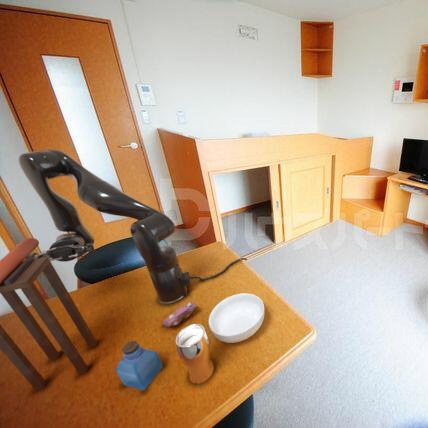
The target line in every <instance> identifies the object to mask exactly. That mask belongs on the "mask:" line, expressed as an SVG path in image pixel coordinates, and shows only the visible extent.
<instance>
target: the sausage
mask: <svg viewBox="0 0 428 428" xmlns="http://www.w3.org/2000/svg"><path fill="white" fill-rule="evenodd" d="M38 246H40V241H39V239H37V238H34V237H27V238H24V239H22V240H21V241H20V242H19V243H18V244H17V245H16V246H14V248H13V249H11V250H10V251H9V252H8V253H7V254H6V255H4V256H3V257H2V258H1V259H0V284H1V283H2V282H3V281H4V280H5V279H6V278H7V277H8V276H9V275H10V274H11V273H12V272H13V271H14V270H15V269H16V268H17V267H18V266H19V265H20V264H21V263H22V262H23V261H25V260H26V258H27V257H28V256H29V255H30V254H32V253H33V251H35V250H36V248H38Z"/></svg>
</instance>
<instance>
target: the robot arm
mask: <svg viewBox="0 0 428 428" xmlns="http://www.w3.org/2000/svg"><path fill="white" fill-rule="evenodd" d="M18 164H19V166H20V169H21V170H22V172H23V174H24V176H25V177H26V179H27V180H28V182H29V183H30V185H31V186H32V188H33V190H34V191H35V192H36V194H37V195H38V197H39V198H40V199H41V201H42V202H43V204H44V205H45V207H46V209H47V210H48V212H49V215H50V217H51V220H52V223H54V224H53V225H54V226H55V228H56V230H58V231H59V232H63V234H60V235H58V236H56V238H55V241H54V242H53V243H52V244H51V245H50V247H49V249H47V250H42V252H41V253H39V252H35V251H34V252H31V253H30V254H29V256H28V257H30V256H33V257H34V259H39V258H44V257H48V258H49V260H50V262H51V263H52V262H55V261H56V262H65V263H67V262H71V261H74V260H76V259H77V258H82V256H85V255H87V253H89V254H94V253H95V247H94V244H95V237H94V235H93V234H92V232H91V231H90V230H89V229H87V227H86V226H85V225H84V223H83V222H82V220H81V219H82V218H81V216H80V214H79V211H78V208H77V207H76V205H74V203H73V202H71V201H70V200H68V199H67V198H66V197H64V196H62V195H60V194H59V193H57V191H55V190H54V189H52V187H51V186H50V183H49V181H48V180H52V179H53V180H54V179H57V178H60V177H67V178H68V177H69V178H70V179H72V180H73V181H74V182H75V188H76V194H77V197H78V198H79V199H80V201H82V203H84V204H86V205H87V206H89V207H90V208H92V209H93V210H95V211H97V212H99V213H103V214H106V215H111V216H118V217H125V218H131V219H133V220H136V221H134V222H132V223H131V224H130V227H129V231H130V235H131V238H132V240H133V242H134V244H135V246H136V248H137V251H138V253H139V255H140V256H141V258H142V259H143V261H144V263H145V266H146V269H147V271H148V274H149V276H150V279H151V282H152V285H153V287H154V290H155V293H156V295H157V299H158V302H159V303H160V304H162V305H171V304H174V303H177V302H179V301H181V300H183V298H186V297H187V296H188V286H191V285H192V280H193V279H199V281H200V282H205V281H208V280H211V279H214V278H217V277H218V276H220V275H222V274H224V273H225V272H226V271H227V270H228V269H229V268H230V267H231V266H232V265H234V264H235V263H237V262H239V261H243V260H244V261H247V260H248V258H246V257H242V258H237V259H236V260H234V261H232V262H230V264H228V265H227V266H226V267H225V268H224V269H223V270H222V271H219V272H218V273H217V274H214V275H212V276H211V277H207V278H201V277H200V276H191V274H190V271H186V272H183V270H182V267H181V266H180V263H179V260H178V256H177V253H176V250H175V248H174V246H172V245H169V244H162V245H161V244H160V245H159V243H160V242H162V241H164V240H165V239H167V238H169V237H170V236H171V235H173V234H174V233H175V232H176V225H175V222H174V221H173V220H172V219H171V218H170V217H169V216H168V215H166V214H165V213H163V212H161V211H160V210H157V209H156V208H154V207H152V206H149V205H147V204H145V203H143V202H141V201H140V200H137V199H136V198H134V197H132V196H130V195H129V194H127V193H125V192H124V191H122V190H120V188H118V187H116V186H114V185H113V184H111V183H109V182H108V181H106V180H104V179H102V178H101V177H99V176H98V175H96V174H95V173H93V172H91V171H90V170H89V169H87V168H86V167H84V166H83V165H82V164H80V163H79V162H78V161H76V160H75V159H74V158H73V157H71V156H69V154H67V153H65V151H64V152H63V151H62V150H59V149H55V148H49V149H42V150H41V149H40V150H35V151H34V150H33V151H28V152H24V153H21V154H20V155H19V156H18ZM28 257H27V258H28ZM27 258H26V259H27ZM26 259H25V260H26ZM240 259H241V260H240Z"/></svg>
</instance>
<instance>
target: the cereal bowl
mask: <svg viewBox="0 0 428 428" xmlns="http://www.w3.org/2000/svg"><path fill="white" fill-rule="evenodd" d="M264 319H265V305H264V301H263V300H262V299H261V298H260V297H259V296H257V295H255V294H253V293H249V292H248V293H246V292H241V293H237V294H233V295H230V296H228V297H226V298H224V299H223V300H221V301H220V302H218V303H217V304H216V305H215V307H213V309H212V310H211V312H210V314H209V316H208V327H209V330H210V331H211V333H212V335H213V337H215V338H216V339H217V340H218V341H220V342H222V343H223V342H224V343H228V344H233V343H235V344H236V343H240V342H242V341H245V340H247V339H249V338H250V337H252V336H254V334H255V333H257V331H258V330H259V329H260V328H261V326H262V324H263V322H264Z"/></svg>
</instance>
